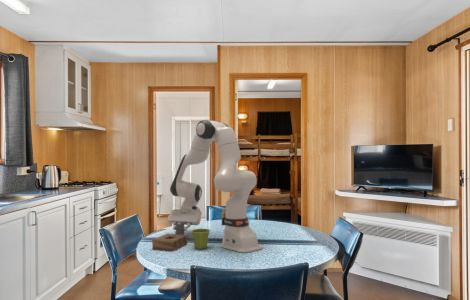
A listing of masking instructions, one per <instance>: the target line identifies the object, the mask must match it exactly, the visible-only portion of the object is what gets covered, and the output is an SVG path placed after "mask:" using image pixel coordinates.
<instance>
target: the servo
mask: <svg viewBox="0 0 470 300" xmlns="http://www.w3.org/2000/svg"><path fill="white" fill-rule="evenodd" d="M184 227H185V225H184V223H178V224H176V230H174V234H176V235H185V231H184Z"/></svg>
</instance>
